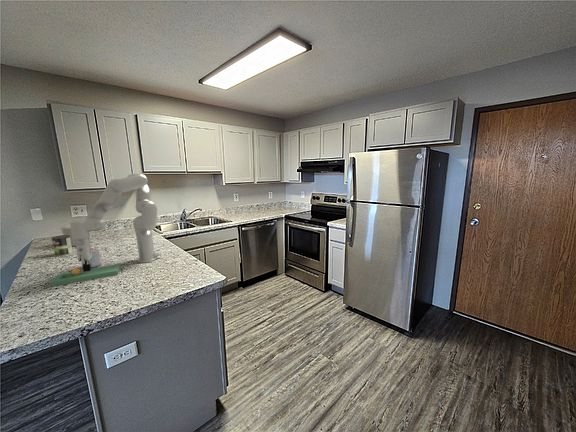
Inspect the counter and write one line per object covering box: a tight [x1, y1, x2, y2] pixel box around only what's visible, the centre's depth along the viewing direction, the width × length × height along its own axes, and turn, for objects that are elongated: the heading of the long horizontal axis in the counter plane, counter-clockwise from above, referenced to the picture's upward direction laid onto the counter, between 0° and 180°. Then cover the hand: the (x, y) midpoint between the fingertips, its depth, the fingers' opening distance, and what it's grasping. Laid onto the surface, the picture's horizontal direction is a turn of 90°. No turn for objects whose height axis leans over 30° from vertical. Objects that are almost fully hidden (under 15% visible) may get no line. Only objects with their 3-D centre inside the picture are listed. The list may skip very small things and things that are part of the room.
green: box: [49, 263, 121, 287], centre depth 141 cm, size 30×12×2 cm, turn 119°
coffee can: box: [50, 235, 74, 258], centre depth 180 cm, size 10×10×14 cm
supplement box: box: [89, 247, 102, 269], centre depth 156 cm, size 6×6×12 cm
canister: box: [60, 224, 76, 247], centre depth 205 cm, size 18×18×21 cm
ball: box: [71, 267, 82, 275], centre depth 138 cm, size 4×4×4 cm
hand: (87, 270), depth 140 cm, fingers closed
